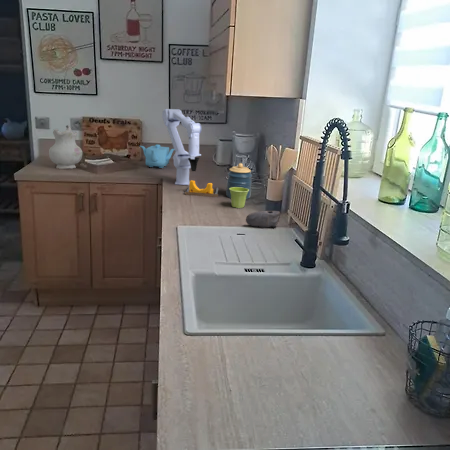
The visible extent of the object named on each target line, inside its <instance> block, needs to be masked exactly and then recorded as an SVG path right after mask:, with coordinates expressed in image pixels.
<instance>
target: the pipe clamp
mask: <svg viewBox="0 0 450 450" xmlns="http://www.w3.org/2000/svg"><path fill="white" fill-rule="evenodd" d="M189 181H190V183H189V185H188V187H189V192H198V193H212V194H214V188H213V183H212V182H209V183H207V184H206V187H205V188H199V187H198V186H197V184H196V181H195V180H192V179H191V180H189Z"/></svg>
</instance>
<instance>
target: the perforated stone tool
mask: <svg viewBox="0 0 450 450" xmlns="http://www.w3.org/2000/svg"><path fill="white" fill-rule="evenodd" d="M281 214H282V213H281V212H280V211H279V210H263V211H262V210H260V211H255V212H251V213H249V214H248V215H246V218H245V222H246V223H247V225H249V226H251V227H258V226H259V228H270V227H274V228H276V227H277V226H278V223H279V222H280V218H281Z"/></svg>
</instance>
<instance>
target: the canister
mask: <svg viewBox="0 0 450 450" xmlns="http://www.w3.org/2000/svg"><path fill="white" fill-rule="evenodd" d="M228 169H229V172H227V173H226V174H227V176H228V177H227V179H226V191H225V194H226V197H227V198H229V199H231V193H230V190H229V188H232V187H242V188H246V189H249V191H248V193H247V196H246V200H249V199H250V198H251V194H252V192H251V191H252V190H251V189H252V181H253V180H252V177H253V174H252V173H251V172H252V170H251V169H249V167H247V166H244V164H243V163H242V162H239V163H238V165H236V166H234V165H233V166H232V167H230V168H228Z"/></svg>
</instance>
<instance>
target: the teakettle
mask: <svg viewBox="0 0 450 450" xmlns="http://www.w3.org/2000/svg"><path fill="white" fill-rule="evenodd" d="M139 147H140V148H141V149H142V150H143V155H144V157H145V166H147V167H153V168H154V167H158V169H159V168H165V167H164V166H166V167H167V165H168V164H170V159H171V158H172V154H173V153H174V151H175V150H174V148H171V149H170V147H169V146H161V144H155V145H151V146H148V147H147V148H146V147H145V146H144V145H139Z"/></svg>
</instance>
